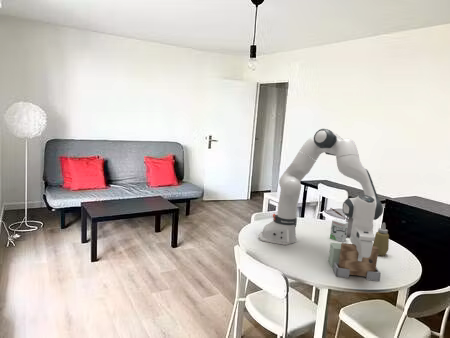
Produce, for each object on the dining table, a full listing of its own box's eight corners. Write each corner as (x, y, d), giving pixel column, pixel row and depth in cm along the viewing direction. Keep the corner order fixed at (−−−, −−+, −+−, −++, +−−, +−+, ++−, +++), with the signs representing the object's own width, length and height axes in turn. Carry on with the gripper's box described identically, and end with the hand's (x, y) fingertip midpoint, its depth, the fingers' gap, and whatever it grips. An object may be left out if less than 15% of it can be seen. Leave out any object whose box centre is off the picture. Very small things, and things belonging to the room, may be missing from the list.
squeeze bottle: (386, 258, 178) (391, 226, 175) (370, 254, 183) (375, 223, 180) (388, 253, 185) (392, 222, 182) (372, 249, 189) (377, 219, 186)
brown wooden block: (339, 274, 155) (343, 246, 152) (337, 270, 159) (341, 242, 156) (375, 278, 153) (379, 250, 151) (372, 274, 157) (376, 246, 155)
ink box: (329, 238, 204) (331, 219, 202) (332, 236, 207) (335, 218, 205) (342, 242, 198) (345, 223, 196) (346, 240, 202) (348, 222, 200)
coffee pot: (362, 236, 211) (365, 213, 209) (356, 240, 203) (360, 217, 200) (330, 227, 225) (333, 205, 222) (323, 231, 216) (326, 209, 213)
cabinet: (380, 281, 152) (383, 260, 150) (335, 276, 154) (338, 256, 152) (368, 264, 169) (371, 246, 167) (328, 260, 171) (330, 242, 169)
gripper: (349, 222, 163) (345, 248, 165) (361, 237, 143) (356, 267, 145) (362, 223, 162) (358, 250, 165) (376, 239, 142) (371, 269, 145)
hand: (357, 258), depth 155 cm, fingers closed on brown wooden block, 3 cm apart
